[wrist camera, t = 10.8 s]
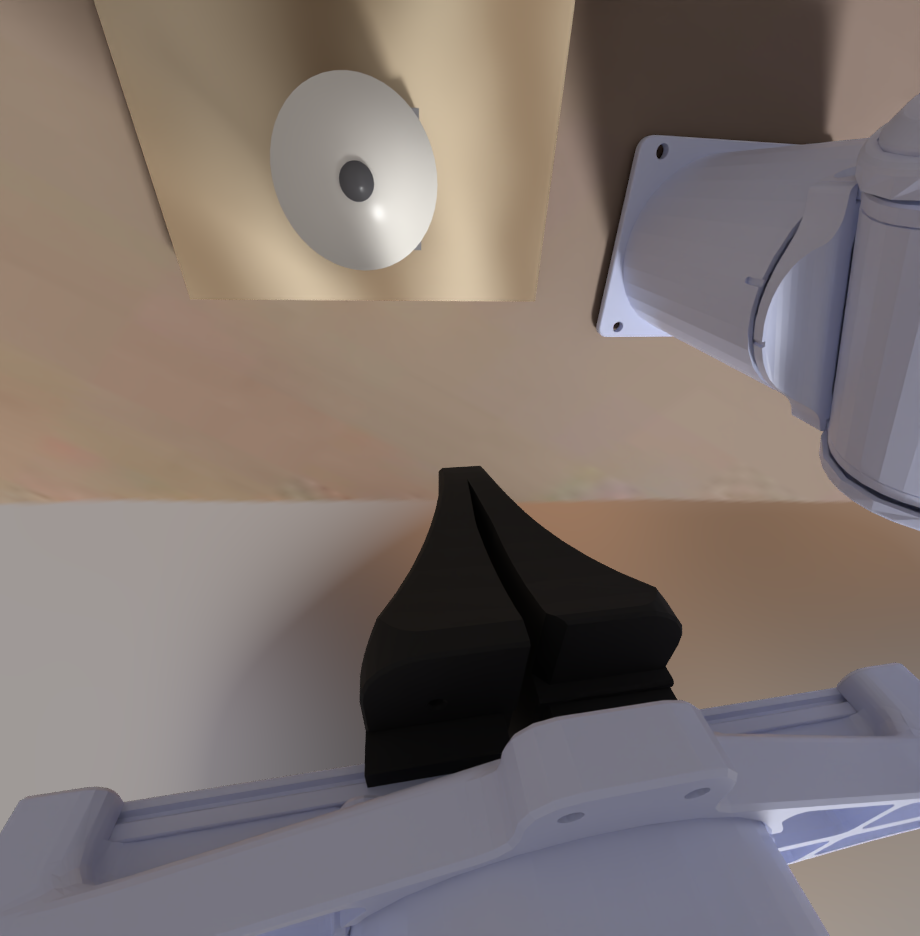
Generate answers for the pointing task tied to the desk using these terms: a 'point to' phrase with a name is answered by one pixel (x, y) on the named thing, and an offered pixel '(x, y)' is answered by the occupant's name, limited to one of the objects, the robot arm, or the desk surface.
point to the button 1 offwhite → (353, 170)
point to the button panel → (372, 53)
